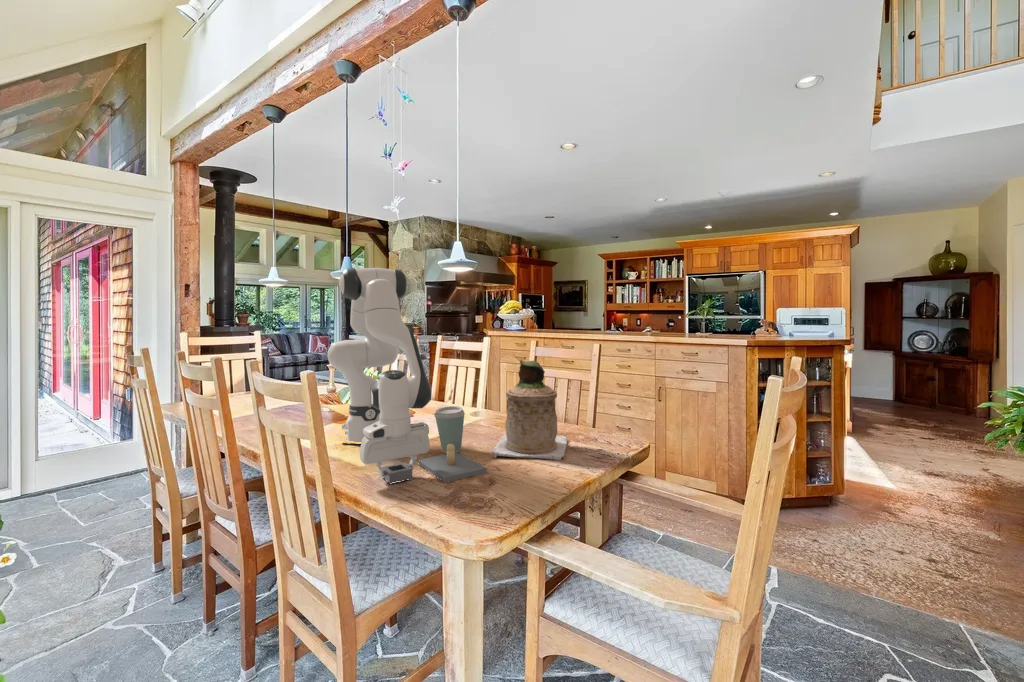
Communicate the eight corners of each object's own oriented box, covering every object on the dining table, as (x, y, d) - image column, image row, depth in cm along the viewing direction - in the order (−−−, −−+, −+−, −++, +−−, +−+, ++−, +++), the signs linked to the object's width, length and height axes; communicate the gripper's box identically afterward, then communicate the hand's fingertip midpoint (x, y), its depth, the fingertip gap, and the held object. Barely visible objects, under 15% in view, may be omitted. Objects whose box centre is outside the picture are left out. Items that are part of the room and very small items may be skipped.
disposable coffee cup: (464, 455, 159) (462, 411, 158) (432, 455, 159) (431, 412, 158) (467, 446, 170) (466, 405, 169) (438, 446, 170) (436, 405, 169)
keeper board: (417, 464, 151) (417, 440, 150) (457, 456, 158) (456, 433, 158) (444, 483, 134) (443, 456, 133) (486, 472, 142) (486, 447, 141)
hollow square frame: (382, 477, 139) (381, 467, 138) (404, 472, 142) (403, 462, 142) (389, 484, 133) (389, 473, 133) (412, 479, 137) (412, 468, 136)
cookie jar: (564, 461, 151) (563, 362, 149) (490, 458, 155) (488, 363, 153) (567, 440, 176) (566, 355, 173) (503, 438, 179) (501, 355, 177)
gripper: (424, 419, 145) (425, 463, 146) (357, 429, 134) (359, 476, 135) (432, 423, 140) (434, 468, 141) (363, 434, 128) (365, 483, 129)
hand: (396, 472), depth 138 cm, fingers closed on hollow square frame, 7 cm apart
